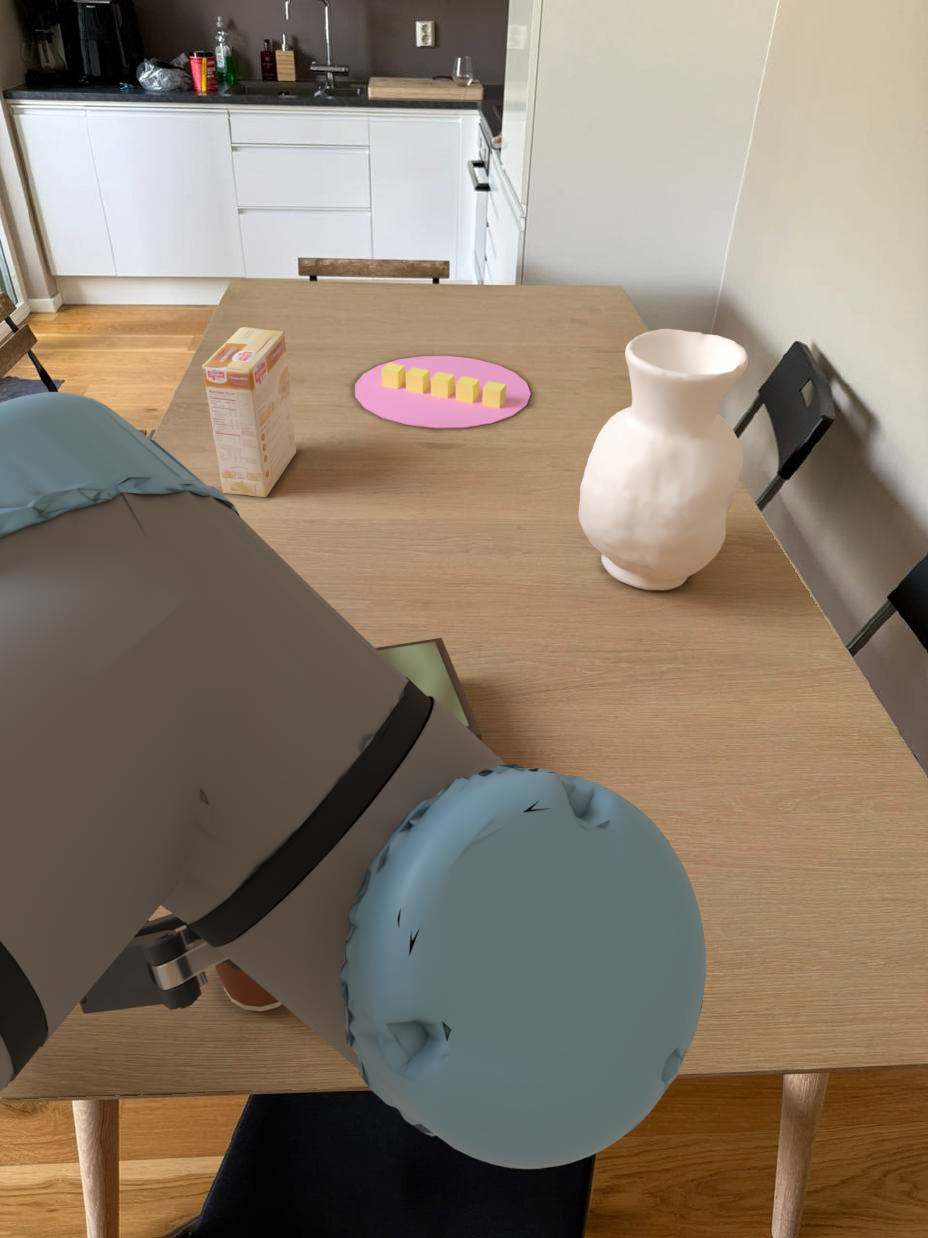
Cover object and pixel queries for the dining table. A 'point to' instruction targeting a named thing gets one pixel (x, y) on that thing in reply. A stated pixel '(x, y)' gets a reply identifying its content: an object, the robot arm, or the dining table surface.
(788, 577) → the dining table surface
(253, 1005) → the coffee cup
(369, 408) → the platter
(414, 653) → the stand
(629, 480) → the vase
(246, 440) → the coffeecake box
